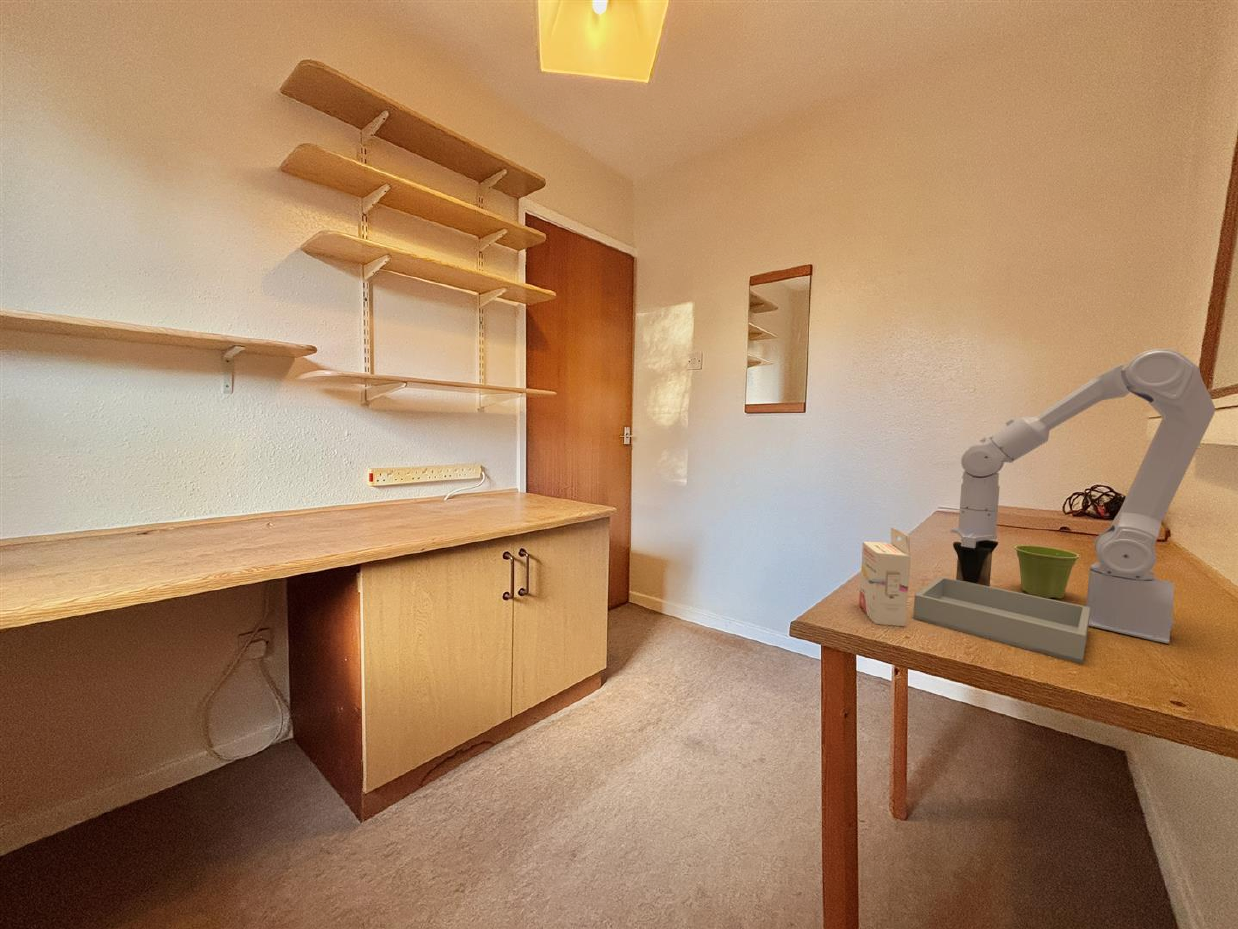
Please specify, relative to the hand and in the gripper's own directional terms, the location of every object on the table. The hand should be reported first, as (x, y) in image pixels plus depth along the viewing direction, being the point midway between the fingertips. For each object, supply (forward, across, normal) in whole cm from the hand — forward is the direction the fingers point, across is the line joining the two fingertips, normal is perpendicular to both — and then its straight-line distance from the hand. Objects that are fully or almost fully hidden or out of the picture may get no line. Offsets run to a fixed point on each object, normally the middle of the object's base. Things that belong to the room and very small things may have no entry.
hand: (973, 579), depth 89 cm
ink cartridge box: (+3, +25, -8) cm, 27 cm away
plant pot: (+4, -13, +9) cm, 16 cm away
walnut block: (+2, 0, 0) cm, 2 cm away
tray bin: (+3, +14, +6) cm, 16 cm away
